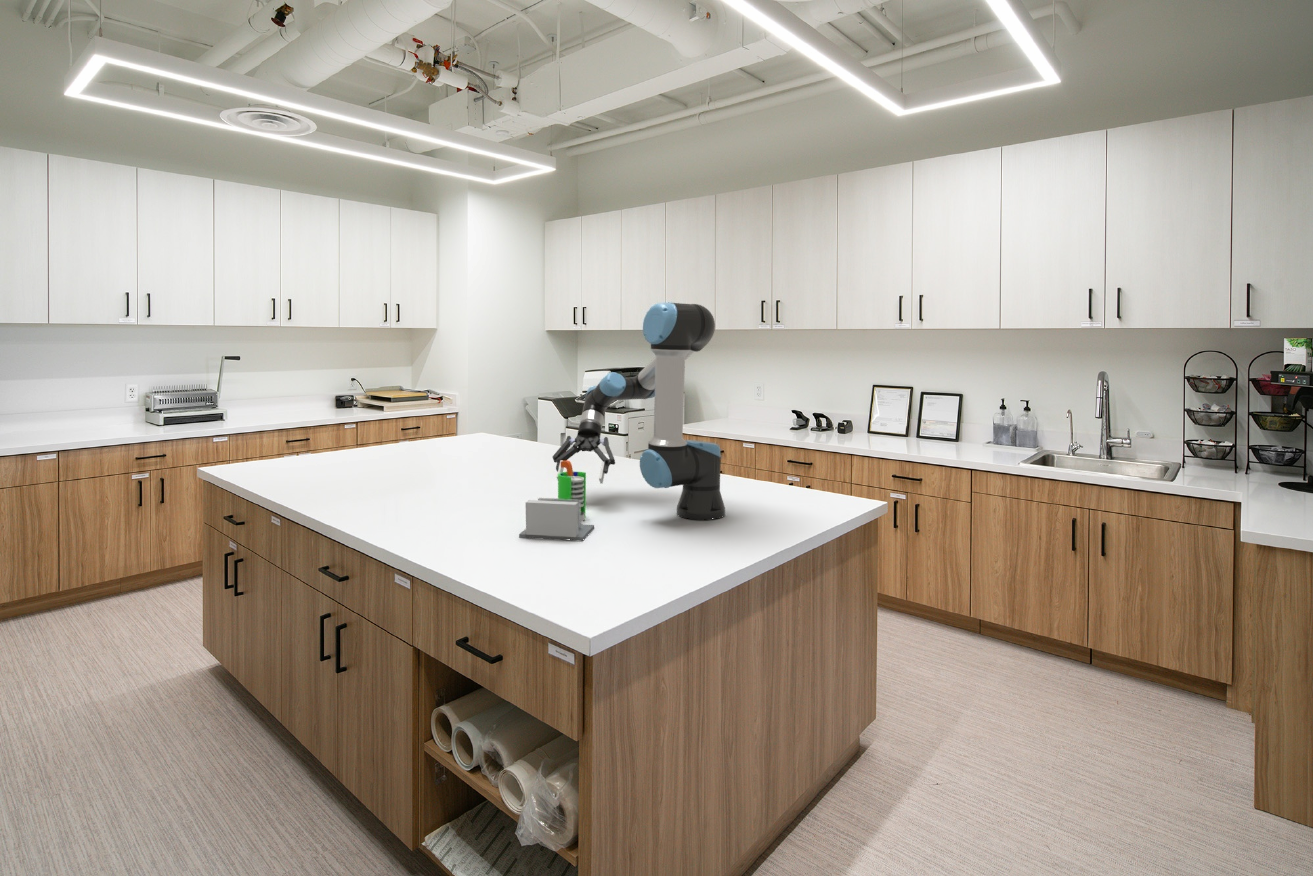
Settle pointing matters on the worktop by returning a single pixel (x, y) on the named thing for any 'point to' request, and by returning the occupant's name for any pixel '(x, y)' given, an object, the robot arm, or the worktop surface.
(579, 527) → the gauge plunger
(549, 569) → the worktop surface
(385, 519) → the worktop surface
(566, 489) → the green-shelled ribbed roller
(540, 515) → the frame
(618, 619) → the worktop surface
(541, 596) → the worktop surface
